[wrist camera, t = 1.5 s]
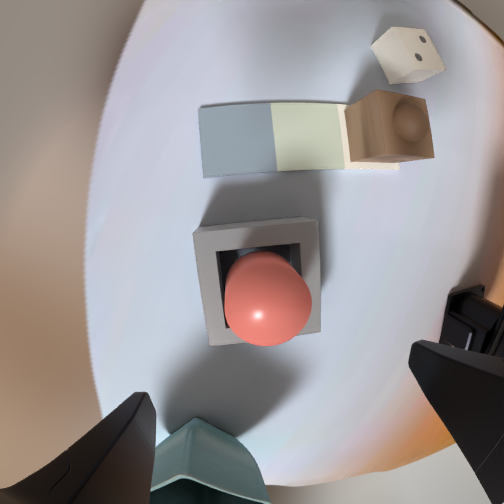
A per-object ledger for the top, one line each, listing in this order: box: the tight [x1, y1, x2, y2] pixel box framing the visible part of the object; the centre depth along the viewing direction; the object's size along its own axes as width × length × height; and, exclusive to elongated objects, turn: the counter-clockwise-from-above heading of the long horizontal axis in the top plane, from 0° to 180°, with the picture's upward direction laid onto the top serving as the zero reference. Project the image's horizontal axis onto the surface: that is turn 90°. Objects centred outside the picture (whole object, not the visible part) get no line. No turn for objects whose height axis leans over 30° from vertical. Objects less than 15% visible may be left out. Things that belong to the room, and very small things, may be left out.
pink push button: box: [225, 250, 312, 346], centre depth 15 cm, size 4×4×4 cm
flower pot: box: [149, 418, 271, 504], centre depth 18 cm, size 9×9×9 cm
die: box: [371, 27, 446, 85], centre depth 15 cm, size 4×4×4 cm
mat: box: [198, 103, 400, 178], centre depth 18 cm, size 15×5×1 cm, turn 95°
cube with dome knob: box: [344, 90, 434, 163], centre depth 15 cm, size 4×4×6 cm
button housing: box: [193, 217, 321, 346], centre depth 18 cm, size 7×7×3 cm
